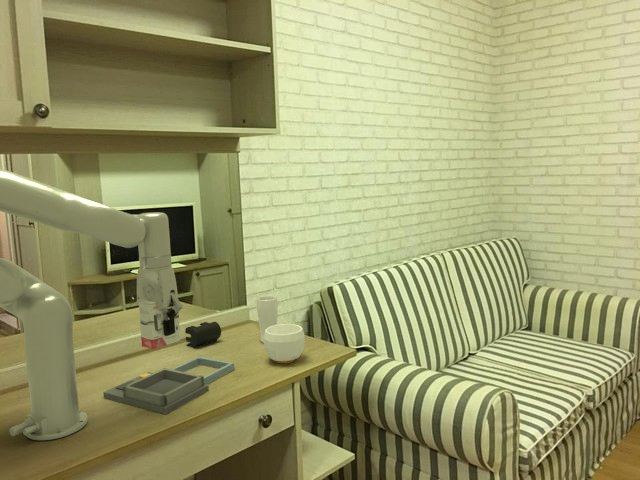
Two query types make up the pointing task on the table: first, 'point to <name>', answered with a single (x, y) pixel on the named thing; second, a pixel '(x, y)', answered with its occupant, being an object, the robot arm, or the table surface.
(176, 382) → the dock
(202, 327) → the end cap
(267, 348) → the cup
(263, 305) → the drinking glass
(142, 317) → the ink box
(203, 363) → the blue-grey square frame
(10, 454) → the table surface
